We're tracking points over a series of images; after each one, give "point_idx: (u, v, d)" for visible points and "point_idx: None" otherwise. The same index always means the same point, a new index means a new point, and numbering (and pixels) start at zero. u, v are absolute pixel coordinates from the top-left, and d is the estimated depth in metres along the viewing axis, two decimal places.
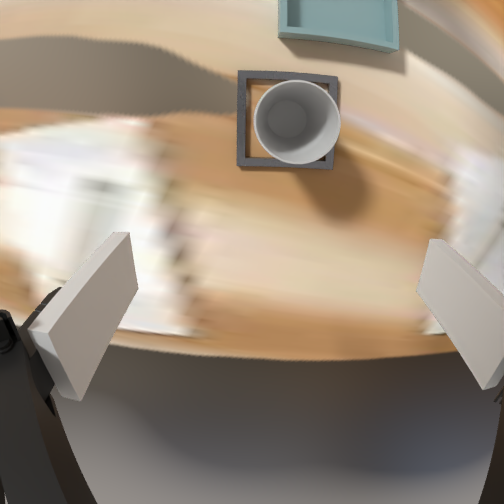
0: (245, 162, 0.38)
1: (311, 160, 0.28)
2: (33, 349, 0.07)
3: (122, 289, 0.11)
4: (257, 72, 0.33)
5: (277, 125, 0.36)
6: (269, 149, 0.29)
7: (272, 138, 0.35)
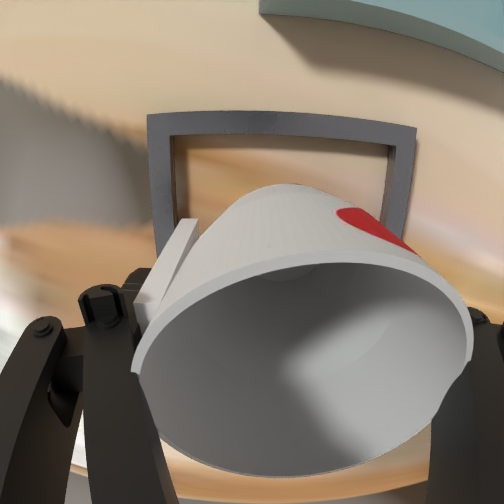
0: None
1: (338, 468, 0.08)
2: (134, 323, 0.08)
3: None
4: (200, 116, 0.12)
5: None
6: (213, 439, 0.08)
7: (241, 304, 0.14)
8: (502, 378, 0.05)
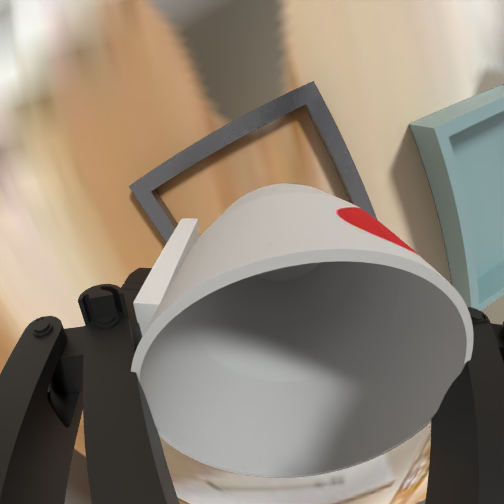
0: (144, 197, 0.17)
1: (337, 468, 0.08)
2: (134, 323, 0.08)
3: None
4: (329, 119, 0.16)
5: None
6: (213, 438, 0.08)
7: (241, 304, 0.14)
8: (502, 378, 0.05)
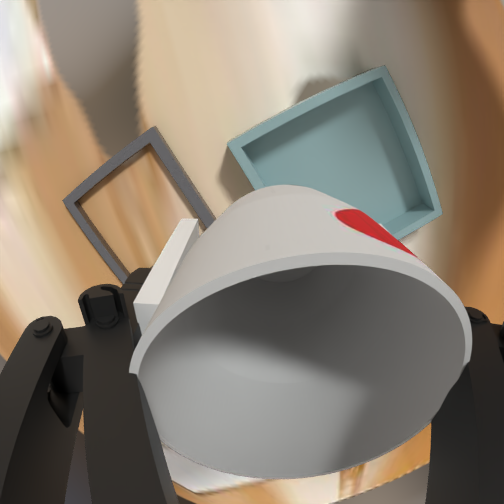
0: (70, 206, 0.27)
1: (336, 469, 0.08)
2: (134, 323, 0.08)
3: None
4: (165, 149, 0.25)
5: None
6: (211, 440, 0.08)
7: (240, 305, 0.14)
8: (502, 378, 0.05)
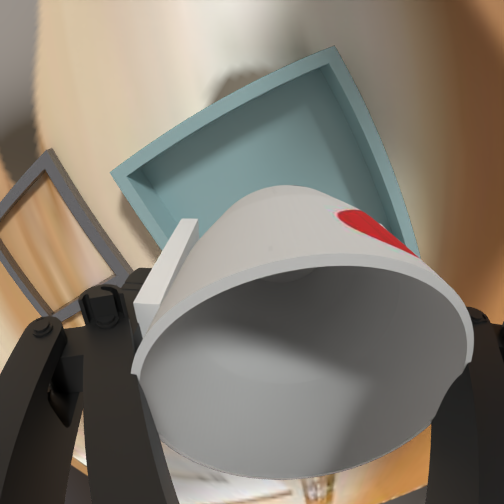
0: None
1: (337, 470, 0.08)
2: (134, 323, 0.08)
3: None
4: (59, 176, 0.19)
5: None
6: (212, 441, 0.08)
7: (241, 305, 0.14)
8: (502, 378, 0.05)
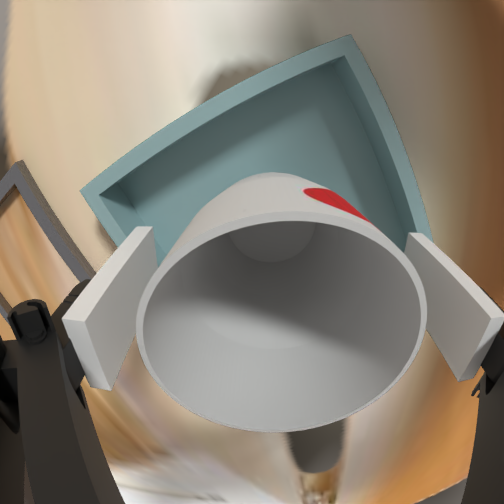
0: None
1: (316, 424, 0.10)
2: (66, 339, 0.07)
3: (146, 281, 0.12)
4: (30, 193, 0.16)
5: (249, 236, 0.17)
6: (205, 392, 0.10)
7: (234, 281, 0.16)
8: None
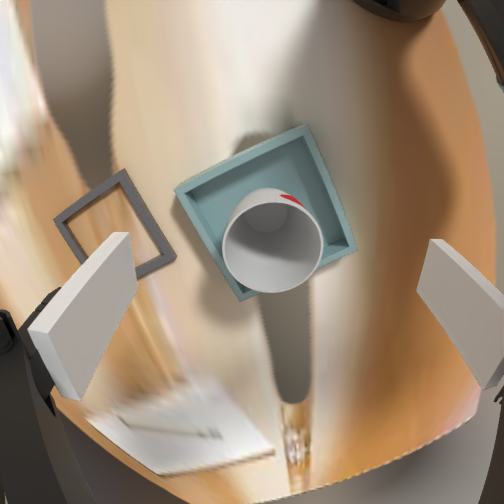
0: (59, 224, 0.34)
1: (285, 289, 0.27)
2: (33, 349, 0.07)
3: (122, 289, 0.11)
4: (130, 188, 0.32)
5: (254, 218, 0.34)
6: (240, 273, 0.27)
7: (247, 238, 0.33)
8: None
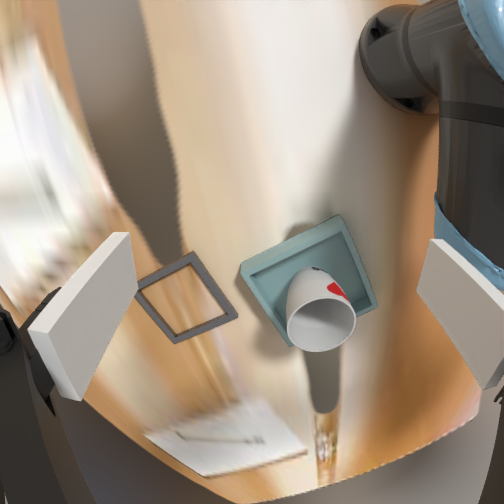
0: None
1: (328, 348, 0.36)
2: (33, 349, 0.07)
3: (122, 289, 0.11)
4: (200, 267, 0.42)
5: None
6: (297, 340, 0.37)
7: None
8: None
